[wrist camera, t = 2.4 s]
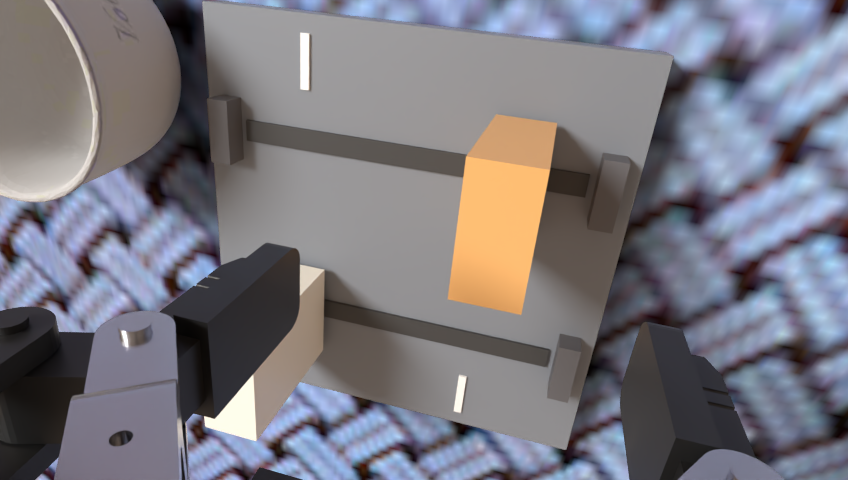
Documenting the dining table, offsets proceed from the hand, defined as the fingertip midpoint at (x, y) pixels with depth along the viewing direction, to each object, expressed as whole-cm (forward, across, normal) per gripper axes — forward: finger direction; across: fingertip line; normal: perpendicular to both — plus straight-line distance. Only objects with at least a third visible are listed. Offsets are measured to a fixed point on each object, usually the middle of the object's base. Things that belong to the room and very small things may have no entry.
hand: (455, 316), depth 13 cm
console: (+14, +4, +5) cm, 16 cm away
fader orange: (+12, 0, 0) cm, 12 cm away
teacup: (+15, +23, -2) cm, 27 cm away
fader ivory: (+12, +10, +9) cm, 18 cm away
